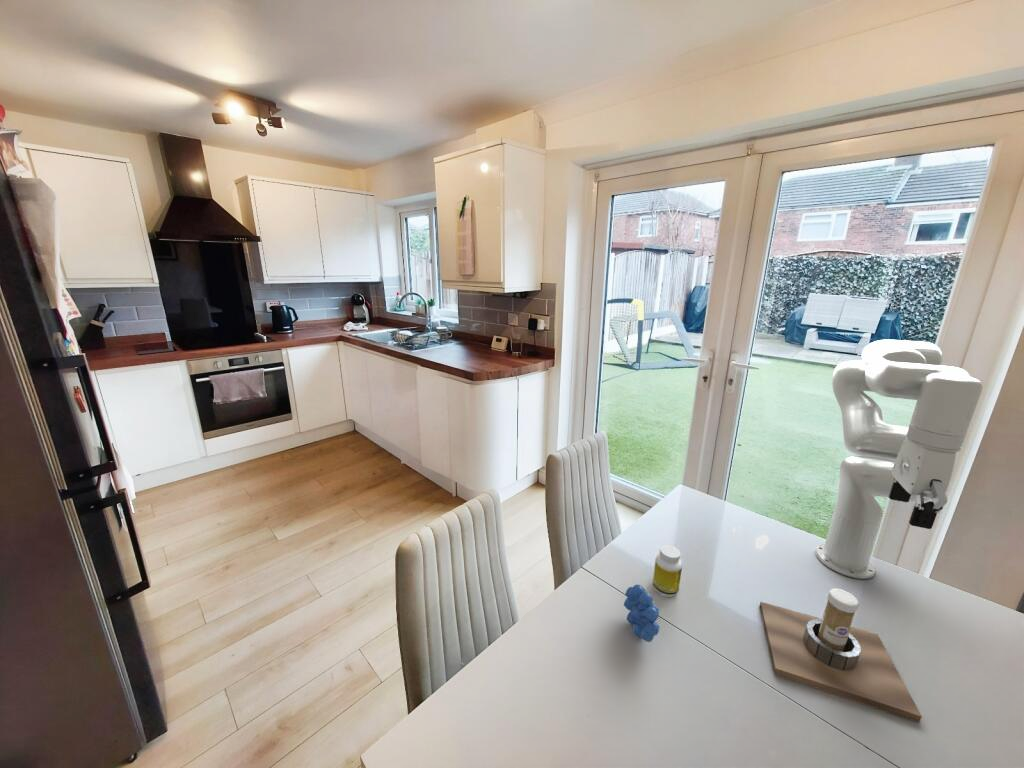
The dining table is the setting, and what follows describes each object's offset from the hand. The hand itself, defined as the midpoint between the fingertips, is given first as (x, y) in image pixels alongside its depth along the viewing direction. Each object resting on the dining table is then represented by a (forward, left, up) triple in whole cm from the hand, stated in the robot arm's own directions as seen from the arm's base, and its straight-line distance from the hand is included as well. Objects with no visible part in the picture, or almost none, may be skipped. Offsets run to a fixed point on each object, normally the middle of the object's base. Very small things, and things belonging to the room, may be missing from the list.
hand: (908, 512), depth 81 cm
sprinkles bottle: (+13, -12, -28) cm, 33 cm away
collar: (+13, -12, -28) cm, 33 cm away
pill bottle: (+7, -44, -30) cm, 53 cm away
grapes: (+23, -48, -30) cm, 61 cm away
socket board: (+13, -12, -29) cm, 34 cm away
